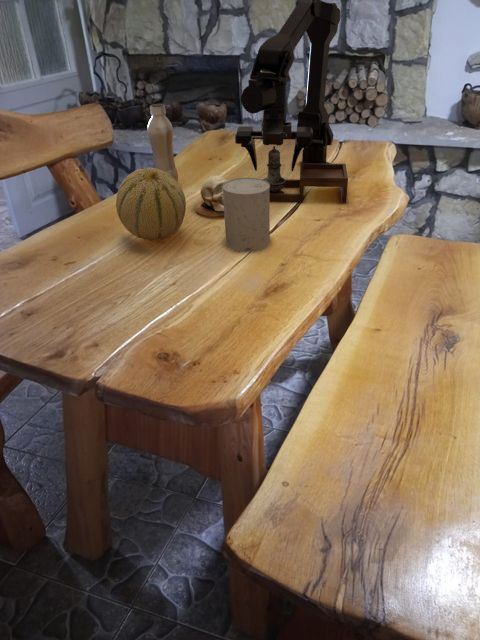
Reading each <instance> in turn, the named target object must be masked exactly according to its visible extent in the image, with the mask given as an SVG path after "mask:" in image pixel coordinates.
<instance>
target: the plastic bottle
mask: <svg viewBox="0 0 480 640" xmlns="http://www.w3.org/2000/svg"><path fill="white" fill-rule="evenodd" d="M149 108H150V109H149V110H150V115H151V118H150V119H149V121H148V124H147V127H146V128H147V130H146V131H147V135H148V138H149V142H150V146H151V151H152V153H151V154H152V160H153V161H152V162H153V168H156V169H159V170H162V171H165V172H166V173H168V174H170V175H171V176H172V177H173V178H174V179H175V180H176V181H177V183H178V182H179V174H178V170H177V167H176V163H175V162H176V161H175V156H174V145H173V144H174V143H173V142H174V127H173V124H172V123H171V121H170V119H169V118H168V117H167V116H166V114H167V110H166V105H165V104H163V103H155V104H151V105H150V106H149Z"/></svg>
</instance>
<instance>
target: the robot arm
mask: <svg viewBox="0 0 480 640" xmlns="http://www.w3.org/2000/svg"><path fill="white" fill-rule="evenodd" d="M341 14H342V13H341V9H340V8H339V7H338V4H337V3H335V2H326V1H323V0H297V1H296V3H295V7H294V8H293V10H292V12H290V15H288V17H287V19H286V20H285V22H284V23H283V25H282V27H281V28H280V29H279V31H278V32H277V33H276V34H275V35H273V36H271V37H269V38H267V39H265V41H264V42H263V43H262V44H260V46H259V48H258V51H256V55H255V59H254V62H253V66H252V70H251V72H250V75H249V79H248V81H247V82H248V85H247V86H246V87H244V88H243V90H242V92H241V95H240V102H241V105H242V107H243V109H244V110H245V111H246V112H247V113H249V114H252V115H254V114H257V113H261V112H262V115H261V116H262V121H261V129H260V130H254V127H253V126H246V125H245V126H241V125H240V126H238V127H237V128H236V130H235V133H234V135H235V136H234V140H235V141H234V143H235V144H236V145H240V147H241V148H245V150H246V151H247V153H248V155H249V157H250V160H251V163H252V166H253V169H254V171H255V172H257V171H258V158H257V150H256V142H255V140H262V144H263V146H271V145H272V146H282V145H283V144H284V140H293V141H294V145H293V146H294V147H293V152H292V158H291V159H292V160H291V172H294V170H295V167H296V164H297V161H298V157H299V156H300V154H302V157H301V158H302V159H301V161H299V163H298V164H299V165H300V163H330V162H329V161H327V155H328V154H327V152H328V146H332V145H333V141H334V135H335V134H334V132H333V130H332V128H331V125H330V123H329V122H330V115H329V113H328V111H327V108H326V106H325V98H326V88H327V87H326V86H327V77H328V76H327V75H328V65H329V54H330V46H331V42H332V41H333V40H334V38H335V36H336V35H337V33H338V28H339V24H340V21H341V17H342V15H341ZM305 33H306V36H307V37H308V41H309V43H310V49H309V61H308V74H307V85H306V86H307V87H306V100H305V105H304V107H303V108H302V110H301V111H299V112H298V114H297V123H296V130H292V127H293V125H292V122H291V121H287V95H288V94H287V89H288V87H287V86H288V82H290V81H291V77H290V75H288V74H289V71H290V70H291V69H292V66H293V63H294V61H295V49H296V47H297V45H298V44H299V43H300V41H301V40H302V38H303V36H304V35H305ZM301 152H302V153H301Z"/></svg>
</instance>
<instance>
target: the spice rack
mask: <svg viewBox="0 0 480 640" xmlns="http://www.w3.org/2000/svg"><path fill="white" fill-rule="evenodd" d="M261 179H262V180H263V179H264V178H261ZM284 179H285V180H286V182H285V183H284V187H283V188H282V189H299V191H298V192H299V193H285V192H284V193H269V203H304V193H305V188H306V187H307V188H309V187H310V188H339V191H340V199H341V203H342V204H347V199H348V184H349V175H348V170H347V165H346V163H331V162H329V163H300V164H299V179H297V178H296V179H293V178H291V179H287V178H284Z"/></svg>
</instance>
